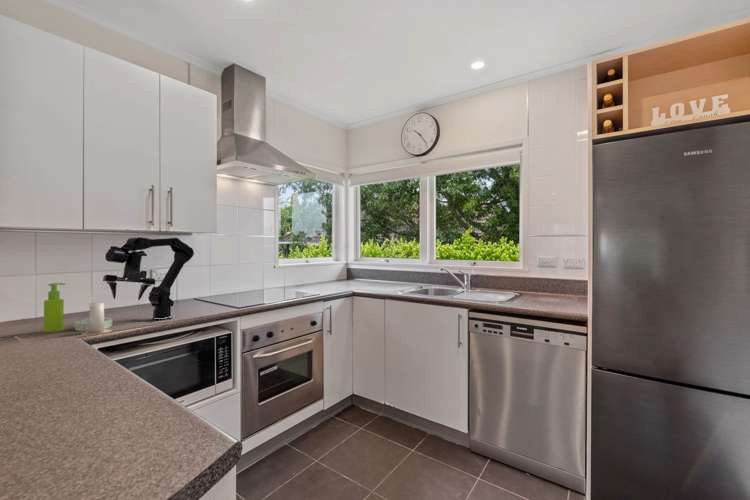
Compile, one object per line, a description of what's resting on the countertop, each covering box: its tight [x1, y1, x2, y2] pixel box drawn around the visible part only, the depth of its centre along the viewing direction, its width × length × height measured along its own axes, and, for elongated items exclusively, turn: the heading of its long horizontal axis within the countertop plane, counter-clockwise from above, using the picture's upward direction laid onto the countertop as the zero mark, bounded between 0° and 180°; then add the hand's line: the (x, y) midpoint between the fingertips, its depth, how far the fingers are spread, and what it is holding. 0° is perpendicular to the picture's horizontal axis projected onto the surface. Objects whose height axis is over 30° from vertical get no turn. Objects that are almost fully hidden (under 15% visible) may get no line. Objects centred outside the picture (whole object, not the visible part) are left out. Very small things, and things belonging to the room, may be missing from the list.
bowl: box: [74, 317, 113, 332], centre depth 146 cm, size 12×12×4 cm
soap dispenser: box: [43, 282, 66, 333], centre depth 142 cm, size 6×7×20 cm
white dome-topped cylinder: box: [89, 302, 105, 333], centre depth 138 cm, size 5×5×12 cm
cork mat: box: [80, 328, 113, 336], centre depth 138 cm, size 10×10×1 cm
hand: (126, 299), depth 153 cm, fingers open, 9 cm apart
